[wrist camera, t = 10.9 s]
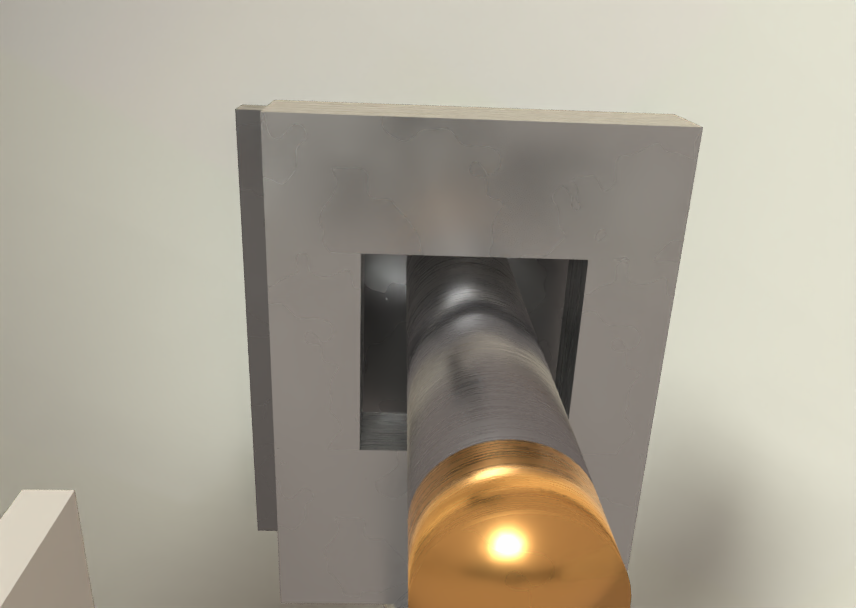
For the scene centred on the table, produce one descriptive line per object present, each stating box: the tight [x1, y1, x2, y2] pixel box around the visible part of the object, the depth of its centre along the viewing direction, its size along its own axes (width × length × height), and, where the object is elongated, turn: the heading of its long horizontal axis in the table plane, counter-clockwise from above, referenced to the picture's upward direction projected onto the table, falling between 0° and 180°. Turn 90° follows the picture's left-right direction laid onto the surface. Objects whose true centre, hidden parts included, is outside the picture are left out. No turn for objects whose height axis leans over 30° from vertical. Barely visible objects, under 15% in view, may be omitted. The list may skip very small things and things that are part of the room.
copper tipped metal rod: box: [406, 255, 631, 608], centre depth 19 cm, size 3×3×16 cm
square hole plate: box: [235, 100, 703, 608], centre depth 21 cm, size 17×14×16 cm
